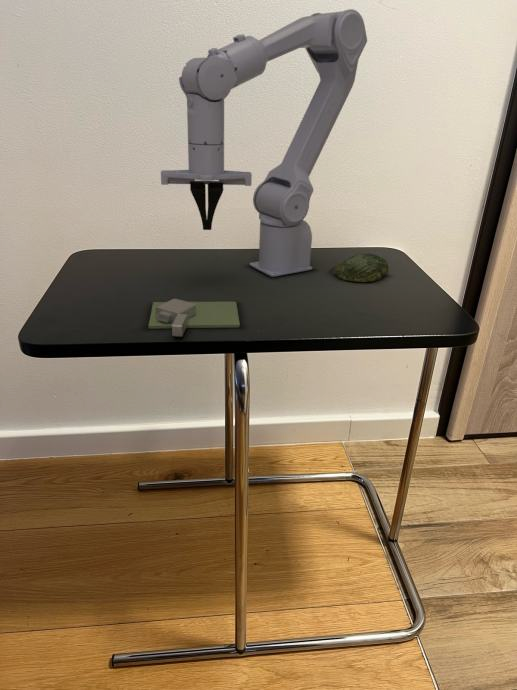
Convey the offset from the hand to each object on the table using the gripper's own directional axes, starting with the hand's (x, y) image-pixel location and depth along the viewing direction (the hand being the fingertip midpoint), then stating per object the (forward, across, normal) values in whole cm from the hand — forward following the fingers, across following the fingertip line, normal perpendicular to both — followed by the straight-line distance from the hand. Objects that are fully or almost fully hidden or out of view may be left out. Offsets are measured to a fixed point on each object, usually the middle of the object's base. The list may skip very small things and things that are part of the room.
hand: (207, 228), depth 92 cm
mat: (+9, -2, -16) cm, 18 cm away
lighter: (+8, -2, -16) cm, 18 cm away
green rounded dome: (+10, +29, +4) cm, 30 cm away
